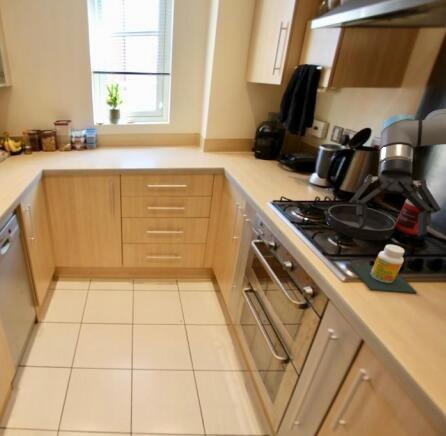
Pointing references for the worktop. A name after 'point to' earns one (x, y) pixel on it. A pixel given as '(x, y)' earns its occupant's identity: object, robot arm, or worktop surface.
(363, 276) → the mat
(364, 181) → the robot arm
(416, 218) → the red supplement tub
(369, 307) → the worktop surface
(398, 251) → the supplement bottle
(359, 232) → the pan
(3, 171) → the worktop surface
